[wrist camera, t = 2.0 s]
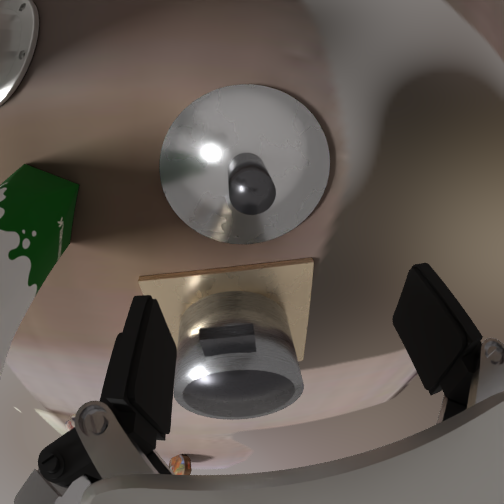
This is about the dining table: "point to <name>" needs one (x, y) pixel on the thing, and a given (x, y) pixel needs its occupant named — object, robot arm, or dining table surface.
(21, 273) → the soya milk
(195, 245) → the dining table surface
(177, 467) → the tin
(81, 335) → the dining table surface
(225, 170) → the lid
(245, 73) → the dining table surface
